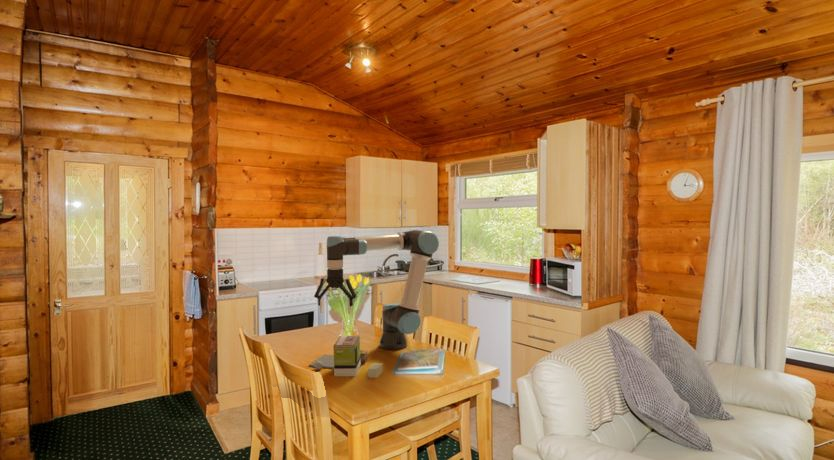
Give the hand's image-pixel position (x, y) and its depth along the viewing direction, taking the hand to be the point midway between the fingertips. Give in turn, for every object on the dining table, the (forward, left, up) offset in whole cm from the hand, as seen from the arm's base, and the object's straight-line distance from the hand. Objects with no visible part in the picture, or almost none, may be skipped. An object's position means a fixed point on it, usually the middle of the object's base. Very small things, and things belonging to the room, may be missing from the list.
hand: (335, 312), depth 221 cm
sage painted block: (-23, +7, -26) cm, 35 cm away
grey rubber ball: (+5, +8, -24) cm, 25 cm away
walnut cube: (-10, -7, -26) cm, 28 cm away
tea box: (-9, +6, -26) cm, 28 cm away
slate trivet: (+5, -3, -26) cm, 26 cm away
